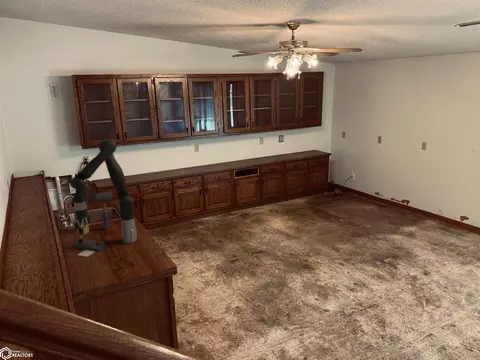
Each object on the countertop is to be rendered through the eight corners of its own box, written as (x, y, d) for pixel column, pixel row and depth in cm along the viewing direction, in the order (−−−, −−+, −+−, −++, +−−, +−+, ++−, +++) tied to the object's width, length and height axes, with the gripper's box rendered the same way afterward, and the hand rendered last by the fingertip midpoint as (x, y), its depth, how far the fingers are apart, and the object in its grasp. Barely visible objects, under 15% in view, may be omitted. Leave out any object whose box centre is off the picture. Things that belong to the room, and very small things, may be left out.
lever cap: (89, 232, 246) (88, 223, 244) (84, 234, 242) (83, 226, 240) (82, 231, 247) (81, 222, 246) (77, 233, 243) (76, 225, 242)
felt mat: (94, 251, 251) (94, 251, 251) (87, 256, 243) (86, 256, 243) (85, 250, 253) (85, 249, 253) (77, 255, 246) (76, 254, 246)
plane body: (105, 247, 258) (103, 233, 256) (98, 251, 252) (97, 237, 249) (81, 243, 264) (80, 230, 261) (74, 247, 257) (73, 234, 255)
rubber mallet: (98, 232, 284) (94, 195, 277) (97, 228, 291) (93, 192, 283) (115, 229, 290) (112, 192, 282) (114, 226, 296) (110, 190, 288)
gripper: (77, 212, 232) (80, 237, 237) (92, 205, 246) (95, 229, 250) (68, 211, 235) (71, 235, 239) (83, 204, 248) (86, 227, 252)
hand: (83, 232), depth 244 cm, fingers closed on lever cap, 4 cm apart
